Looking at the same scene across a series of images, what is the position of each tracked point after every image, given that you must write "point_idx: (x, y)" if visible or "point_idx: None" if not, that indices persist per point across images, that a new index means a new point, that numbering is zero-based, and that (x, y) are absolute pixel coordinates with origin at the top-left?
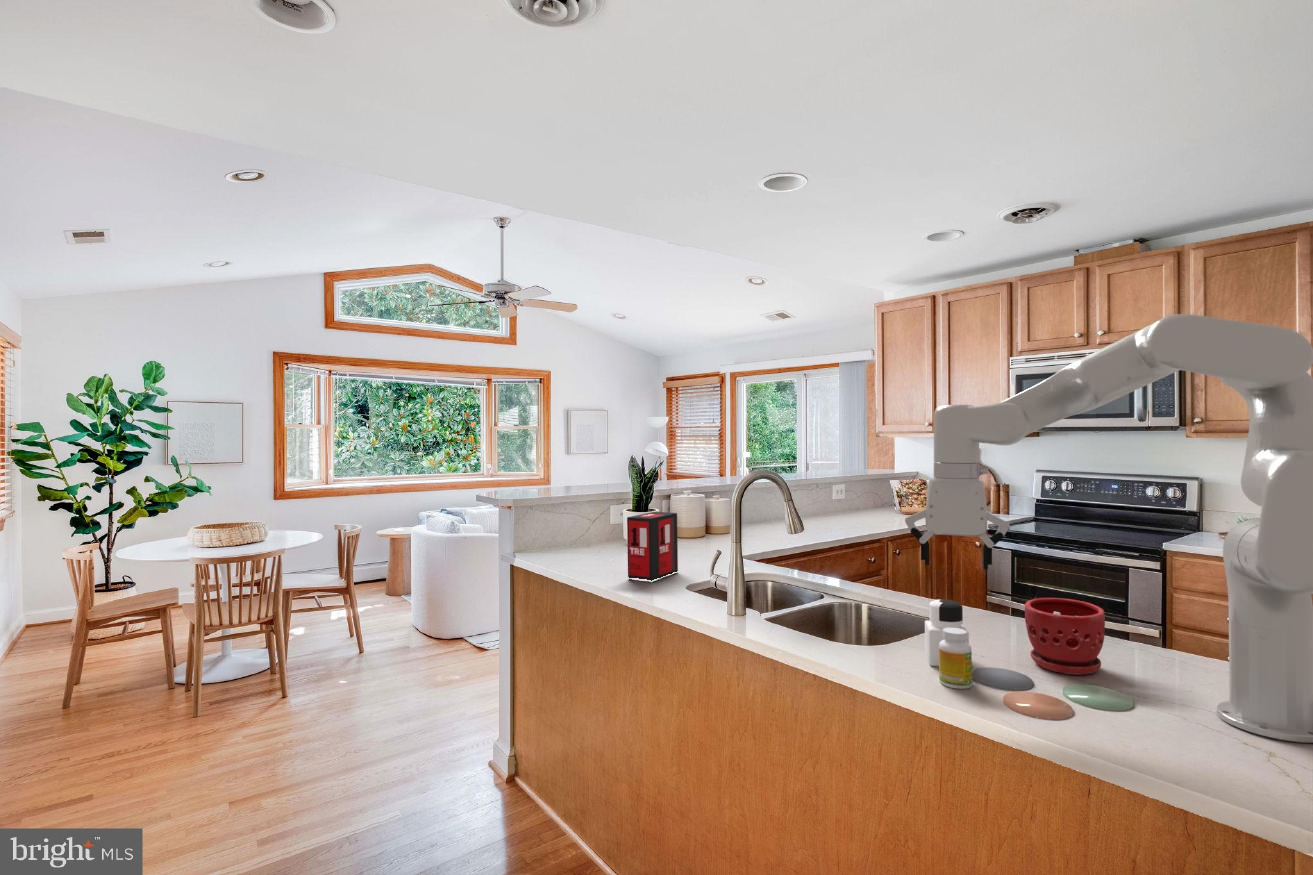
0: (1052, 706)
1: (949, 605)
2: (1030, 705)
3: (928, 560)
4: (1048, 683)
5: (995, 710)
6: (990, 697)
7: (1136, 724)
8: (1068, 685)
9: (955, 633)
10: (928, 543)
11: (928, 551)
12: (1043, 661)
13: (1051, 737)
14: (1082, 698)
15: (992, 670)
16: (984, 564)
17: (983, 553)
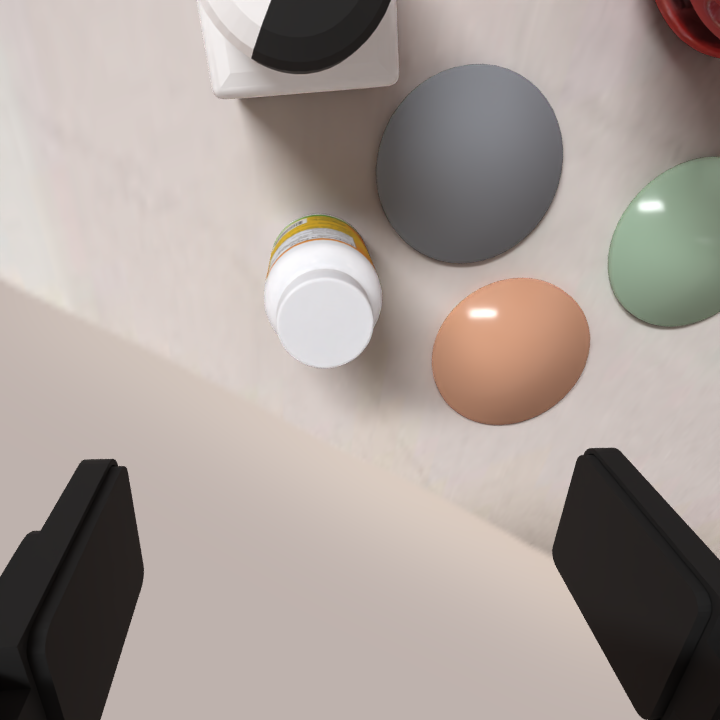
0: (543, 363)
1: (315, 38)
2: (491, 374)
3: (128, 614)
4: (606, 157)
5: (402, 411)
6: (405, 334)
7: (690, 385)
8: (653, 189)
9: (325, 366)
10: (52, 711)
11: (100, 698)
12: (665, 7)
13: (485, 500)
14: (643, 284)
15: (455, 102)
16: (574, 587)
17: (616, 672)
